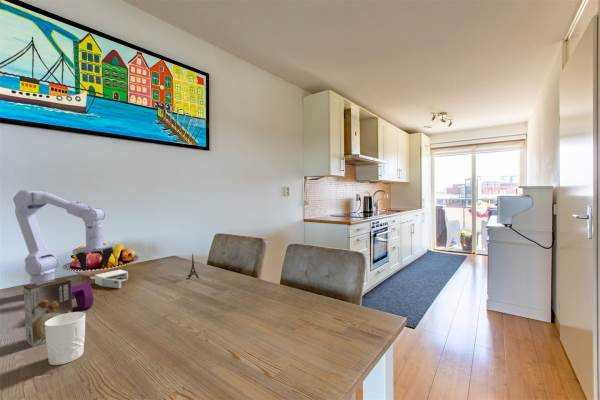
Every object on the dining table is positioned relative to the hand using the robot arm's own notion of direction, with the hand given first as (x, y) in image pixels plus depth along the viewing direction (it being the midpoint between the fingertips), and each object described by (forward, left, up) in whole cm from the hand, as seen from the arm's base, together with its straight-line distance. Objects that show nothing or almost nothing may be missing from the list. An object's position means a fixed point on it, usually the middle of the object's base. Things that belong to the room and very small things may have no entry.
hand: (95, 268), depth 116 cm
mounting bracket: (+10, -13, -11) cm, 20 cm away
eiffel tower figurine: (+17, +35, -11) cm, 41 cm away
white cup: (+49, -24, -11) cm, 56 cm away
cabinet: (-11, +11, -10) cm, 18 cm away
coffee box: (+32, -23, -11) cm, 41 cm away
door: (-1, +6, -10) cm, 12 cm away
